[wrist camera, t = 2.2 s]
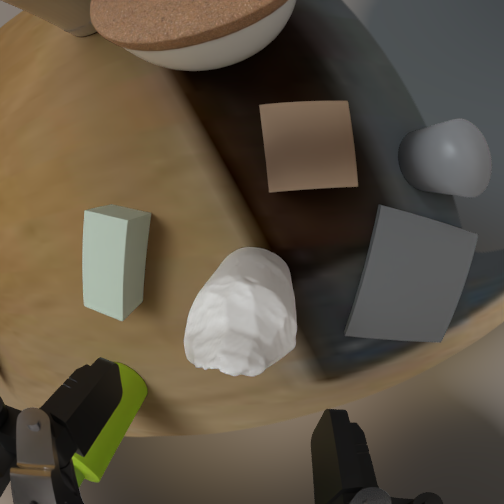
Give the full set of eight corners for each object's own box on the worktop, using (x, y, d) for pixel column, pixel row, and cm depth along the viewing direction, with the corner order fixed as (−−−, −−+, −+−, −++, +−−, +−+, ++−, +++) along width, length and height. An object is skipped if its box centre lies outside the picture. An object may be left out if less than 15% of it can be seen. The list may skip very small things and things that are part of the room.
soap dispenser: (129, 407, 27) (61, 526, 8) (95, 366, 26) (2, 482, 6) (162, 403, 26) (95, 546, 7) (126, 357, 25) (23, 501, 5)
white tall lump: (187, 429, 11) (131, 337, 9) (227, 317, 22) (205, 254, 21) (314, 417, 10) (286, 308, 8) (298, 301, 21) (280, 234, 20)
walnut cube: (263, 123, 18) (259, 104, 13) (330, 119, 18) (347, 100, 13) (270, 189, 19) (269, 192, 14) (338, 184, 19) (358, 186, 14)
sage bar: (112, 204, 21) (84, 210, 17) (152, 212, 21) (127, 220, 17) (107, 288, 23) (84, 305, 19) (143, 300, 23) (122, 321, 19)
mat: (378, 204, 19) (381, 205, 18) (474, 233, 18) (478, 234, 18) (343, 332, 22) (345, 335, 21) (438, 339, 21) (441, 342, 21)
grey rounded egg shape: (401, 122, 17) (441, 106, 11) (449, 141, 17) (493, 136, 11) (394, 182, 18) (434, 184, 12) (442, 197, 18) (486, 206, 12)
